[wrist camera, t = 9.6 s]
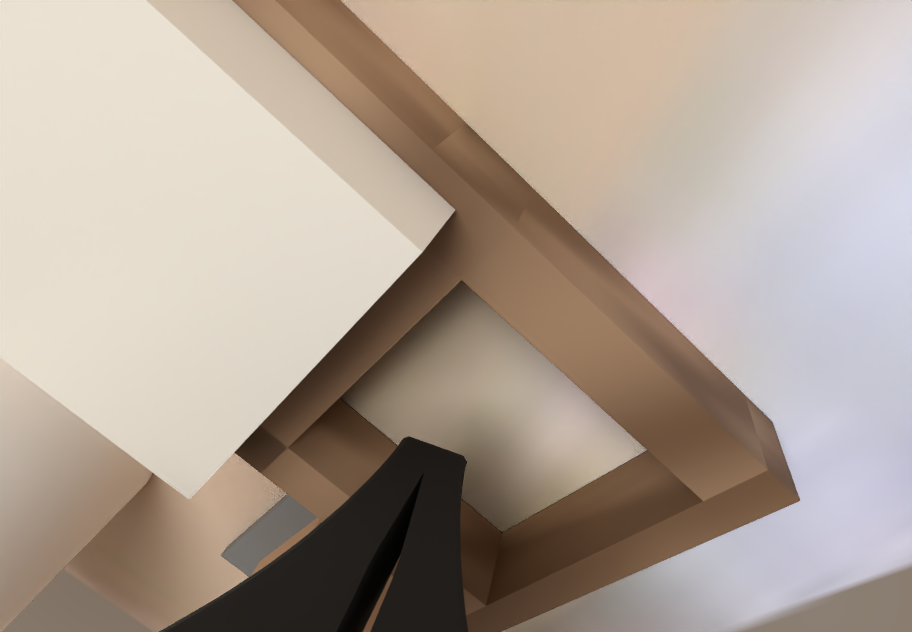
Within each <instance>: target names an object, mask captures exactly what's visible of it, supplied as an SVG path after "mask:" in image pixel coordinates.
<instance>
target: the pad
mask: <svg viewBox="0 0 912 632" xmlns="http://www.w3.org/2000/svg"><path fill="white" fill-rule="evenodd" d="M316 518H317V517H316V516H315V515H314V514H313V513H311V512H310V511H309V510H307V509H306V508H305V507H304V506H302V505H301V504H300V503H299V502H297V501H296V500H295V499H293V498H292V497H291V496H290V495H288V494H287V495H286V496H285V497H283V498H282V499H281V500H280V501H279V502H278V503H277V504H275V505H274V506H273V507H272V508H271V509H270V510H269V511H267V512H266V513H265V514H264V515H263V516H262V517H261V518H259V519H258V520H257V521H256V522H255V523H254V524H253V525H252V526H250V527H249V528H248V529H247V530H246V531H245V532H244V533H242V534H241V535H240V536H239V537H238V538H237V539H236V540H234V541H233V542H232V543H231V544H230V545H229V546H228V547H227V548H226V549H225V550H224V552H223V553H222V555H221V556H222V557H223V558H225V559H226V560H227V561H229V562H230V563H231V564H233V565H234V566H235V567H237V568H238V569H239V570H241V571H242V572H243V573H245V574H246V575H247V576H249V577H250V576H251V574H252V573H253V571H254V570H255V568H256V567H257V565H258V564H259V562H260V561H261V560H262V559H263V558H265V557H266V556H267V555H269V554H270V553H271V552H273V551H274V550H275V549H277V548H278V547H279V546H281V545H282V544H283V543H284V542H286V541H287V540H288V539H290V538H291V537H292V536H294V535H295V534H296V533H298V532H299V531H300V530H302V529H303V528H304V527H306V526H307V525H308V524H309V523H311V522H312V521H313V520H315V519H316Z"/></svg>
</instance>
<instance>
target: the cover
mask: <svg viewBox="0 0 912 632" xmlns="http://www.w3.org/2000/svg"><path fill="white" fill-rule="evenodd" d="M454 211H455V209H454V208H453V207H452V206H451V205H450V204H449V203H448V202H447V201H445V200H444V199H443V198H442V197H441V196H440V195H439V194H438V193H437V192H436V191H435V190H434V189H433V188H432V187H431V186H429V185H428V184H427V183H426V182H425V181H424V180H423V179H422V178H421V177H420V176H419V175H418V174H417V173H416V172H415V171H413V170H412V169H411V168H410V167H409V166H408V165H407V164H406V163H405V162H404V161H403V160H402V159H401V158H400V157H399V156H398V155H396V154H395V153H394V152H393V151H392V150H391V149H390V148H389V147H388V146H387V145H386V144H385V143H384V142H383V141H382V140H380V139H379V138H378V137H377V136H376V135H375V134H374V133H373V132H372V131H371V130H370V129H369V128H368V127H367V126H366V125H364V124H363V123H362V122H361V121H360V120H359V119H358V118H357V117H356V116H355V115H354V114H353V113H352V112H351V111H350V110H349V109H347V108H346V107H345V106H344V105H343V104H342V103H341V102H340V101H339V100H338V99H337V98H336V97H335V96H334V95H333V94H331V93H330V92H329V91H328V90H327V89H326V88H325V87H324V86H323V85H322V84H321V83H320V82H319V81H318V80H317V79H315V78H314V77H313V76H312V75H311V74H310V73H309V72H308V71H307V70H306V69H305V68H304V67H303V66H302V65H301V64H300V63H298V62H297V61H296V60H295V59H294V58H293V57H292V56H291V55H290V54H289V53H288V52H287V51H286V50H285V49H284V48H282V47H281V46H280V45H279V44H278V43H277V42H276V41H275V40H274V39H273V38H272V37H271V36H270V35H269V34H268V33H266V32H265V31H264V30H263V29H262V28H261V27H260V26H259V25H258V24H257V23H256V22H255V21H254V20H253V19H252V18H251V17H249V16H248V15H247V14H246V13H245V12H244V11H243V10H242V9H241V8H240V7H239V6H238V5H237V4H236V3H235V2H233V1H232V0H0V358H1V359H3V360H4V361H5V362H7V363H8V364H9V365H11V366H12V367H13V368H15V369H16V370H17V371H19V372H20V373H21V374H23V375H24V376H25V377H27V378H28V379H29V380H31V381H32V382H33V383H35V384H36V385H37V386H39V387H40V388H41V389H43V390H44V391H45V392H46V393H48V394H49V395H50V396H52V397H53V398H54V399H56V400H57V401H58V402H60V403H61V404H62V405H64V406H65V407H66V408H68V409H69V410H70V411H72V412H73V413H74V414H76V415H77V416H78V417H80V418H81V419H82V420H84V421H85V422H86V423H88V424H89V425H90V426H92V427H93V428H94V429H96V430H97V431H98V432H100V433H101V434H102V435H104V436H105V437H106V438H108V439H109V440H110V441H112V442H113V443H114V444H116V445H117V446H118V447H119V448H121V449H122V450H123V451H125V452H126V453H127V454H129V455H130V456H131V457H133V458H134V459H135V460H137V461H138V462H139V463H141V464H142V465H143V466H145V467H146V468H147V469H149V470H150V471H151V472H153V473H154V474H155V475H157V476H158V477H159V478H161V479H162V480H163V481H165V482H166V483H167V484H169V485H170V486H171V487H173V488H174V489H175V490H177V491H178V492H179V493H181V494H182V495H183V496H185V497H186V498H187V499H189V500H190V499H191V498H192V497H193V496H194V495H195V493H196V492H197V491H198V490H199V489H200V488H201V487H202V486H203V485H204V484H205V483H206V482H207V481H208V480H209V479H210V478H211V476H212V475H213V474H214V473H215V472H216V471H217V470H218V469H219V468H220V467H221V466H222V465H223V464H224V463H225V462H226V460H227V459H228V458H229V457H230V456H231V455H232V454H233V453H234V452H235V451H236V450H237V449H238V448H239V447H240V446H241V445H242V443H243V442H244V441H245V440H246V439H247V438H248V437H249V436H250V435H251V434H252V433H253V432H254V431H255V430H256V429H257V428H258V426H259V425H260V424H261V423H262V422H263V421H264V420H265V419H266V418H267V417H268V416H269V415H270V414H271V413H272V412H273V411H274V409H275V408H276V407H277V406H278V405H279V404H280V403H281V402H282V401H283V400H284V399H285V398H286V397H287V396H288V395H289V394H290V392H291V391H292V390H293V389H294V388H295V387H296V386H297V385H298V384H299V383H300V382H301V381H302V380H303V379H304V378H305V377H306V375H307V374H308V373H309V372H310V371H311V370H312V369H313V368H314V367H315V366H316V365H317V364H318V363H319V362H320V361H321V359H322V358H323V357H324V356H325V355H326V354H327V353H328V352H329V351H330V350H331V349H332V348H333V347H334V346H335V345H336V344H337V342H338V341H339V340H340V339H341V338H342V337H343V336H344V335H345V334H346V333H347V332H348V331H349V330H350V329H351V328H352V327H353V325H354V324H355V323H356V322H357V321H358V320H359V319H360V318H361V317H362V316H363V315H364V314H365V313H366V312H367V311H368V310H369V308H370V307H371V306H372V305H373V304H374V303H375V302H376V301H377V300H378V299H379V298H380V297H381V296H382V295H383V294H384V293H385V291H386V290H387V289H388V288H389V287H390V286H391V285H392V284H393V283H394V282H395V281H396V280H397V279H398V278H399V277H400V275H401V274H402V273H403V272H404V271H405V270H406V269H407V268H408V267H409V266H410V265H411V264H412V263H413V262H414V261H415V260H416V258H417V257H418V256H419V255H420V254H421V253H422V252H423V251H424V250H425V248H426V247H427V246H428V244H429V243H430V242H431V241H432V239H433V238H434V237H435V235H436V234H437V233H438V232H439V230H440V229H441V228H442V227H443V225H444V224H445V223H446V221H447V220H448V219H449V218H450V216H451V215H452V214H453V213H454Z"/></svg>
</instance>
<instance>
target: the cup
mask: <svg viewBox="0 0 912 632" xmlns="http://www.w3.org/2000/svg"><path fill="white" fill-rule="evenodd" d="M152 473H153V472H151V471H150V470H149V469H147V468H146V467H145V466H143V465H142V464H141V463H139V462H138V461H137V460H135V459H134V458H133V457H131V456H130V455H129V454H127V453H126V452H125V451H123V450H122V449H121V448H119V447H118V446H117V445H116V444H114V443H113V442H112V441H110V440H109V439H108V438H106V437H105V436H104V435H102V434H101V433H100V432H98V431H97V430H96V429H94V428H93V427H92V426H90V425H89V424H88V423H86V422H85V421H84V420H82V419H81V418H80V417H78V416H77V415H76V414H74V413H73V412H72V411H70V410H69V409H68V408H66V407H65V406H64V405H62V404H61V403H60V402H58V401H57V400H56V399H54V398H53V397H52V396H50V395H49V394H48V393H46V392H45V391H44V390H43V389H41V388H40V387H39V386H37V385H36V384H35V383H33V382H32V381H31V380H29V379H28V378H27V377H25V376H24V375H23V374H21V373H20V372H19V371H17V370H16V369H15V368H13V367H12V366H11V365H9V364H8V363H7V362H5V361H4V360H3V359H1V358H0V632H2V630H3V629H4V628H5V627H6V626H7V625H8V624H9V623H10V622H11V621H12V620H13V619H14V618H15V617H16V616H17V615H18V614H19V613H20V612H21V611H22V610H23V609H24V608H25V607H26V606H27V605H28V604H29V603H30V602H31V601H32V600H33V599H34V598H35V597H36V596H37V595H38V594H39V593H40V592H41V591H42V590H43V589H44V588H45V587H46V586H47V585H48V584H49V583H50V582H51V580H52V579H53V578H54V577H55V576H56V575H57V574H58V573H59V572H60V571H61V570H62V569H63V568H64V567H65V566H66V565H67V564H68V563H69V562H70V561H71V560H72V559H73V558H74V557H75V556H76V555H77V554H78V553H79V552H80V551H81V550H82V549H83V548H84V547H85V546H86V545H87V544H88V543H89V542H90V541H91V540H92V539H93V538H94V537H95V536H96V535H97V534H98V533H99V531H100V530H101V529H102V528H103V527H104V526H105V525H106V524H107V523H108V522H109V521H110V520H111V519H112V518H113V517H114V516H115V515H116V514H117V513H118V512H119V511H120V510H121V509H122V508H123V507H124V506H125V505H126V504H127V503H128V502H129V501H130V500H131V499H132V498H133V497H134V496H135V495H136V494H137V493H138V492H139V491H140V490H141V489H142V488H143V487H144V485H145V484H146V483H147V482H148V480H149V479H150V477H151V475H152Z"/></svg>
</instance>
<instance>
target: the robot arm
mask: <svg viewBox="0 0 912 632" xmlns="http://www.w3.org/2000/svg"><path fill="white" fill-rule="evenodd" d="M466 464H467V461H466V459H465V458H464V456H462V455H459V454H457V453H454V452H451V451H448V450H445V449H443V448H440V447H437V446H434V445H432V444H429V443H426V442H423V441H420V440H418V439H415V438H412V437H406V438H403V440H402V441H401V442H400V444H399V445H398V447H397V448H396V449H395V450H394V452H393V453H392V454H391V455H390V456H389V458H388V459H387V460H386V461H385V462H384V463H383V464H382V465H381V467H380V468H379V469H378V470H377V471H376V472H375V473H374V474H373V475H372V476H371V477H370V478H369V479H368V480H367V481H366V482H365V483H364V484H363V485H362V486H361V487H360V488H359V489H358V490H357V491H356V492H355V493H354V494H353V495H352V496H351V497H350V498H349V499H348V500H347V501H346V502H345V503H343V504H342V505H341V506H340V507H339V508H338V509H337V510H336V511H334V512H333V513H332V514H331V515H330V516H329V517H327V518H326V519H325V520H324V521H323V522H322V523H320V524H319V525H318V526H317V527H316V528H315V529H313V530H312V531H311V532H310V533H309V534H307V535H306V536H305V537H304V538H302V539H301V540H300V541H299V542H297V543H296V544H295V545H293V546H292V547H291V548H290V549H288V550H287V551H286V552H284V553H283V554H281V555H280V556H279V557H277V558H276V559H275V560H273V561H272V562H271V563H269V564H268V565H266V566H265V567H263V568H262V569H261V570H259V571H258V572H256V573H255V574H253V575H252V576H250V577H249V578H247V579H246V580H244V581H243V582H241V583H240V584H238V585H237V586H235V587H234V588H232V589H231V590H229V591H228V592H226V593H224V594H223V595H221V596H220V597H218V598H216V599H215V600H213V601H211V602H210V603H208V604H206V605H205V606H203V607H201V608H199V609H198V610H196V611H194V612H193V613H191V614H189V615H187V616H186V617H184V618H182V619H180V620H179V621H177V622H175V623H174V624H172V625H170V626H168V627H167V628H165V629H163V630H161V631H159V632H363V630H364V628H365V626H366V624H367V622H368V620H369V618H370V616H371V614H372V612H373V610H374V608H375V606H376V604H377V602H378V600H379V598H380V596H381V594H382V592H383V590H384V588H385V586H386V584H387V582H388V580H389V577H390V575H391V573H392V571H393V569H394V567H395V565H396V563H397V561H398V559H399V561H398V564H397V567H396V570H395V573H394V576H393V578H392V580H391V583H390V585H389V588H388V590H387V593H386V595H385V597H384V600H383V602H382V605H381V607H380V610H379V612H378V614H377V617H376V619H375V622H374V624H373V626H372V629H371V631H370V632H468V627H467V619H466V611H465V602H464V592H463V580H462V566H461V537H460V512H461V495H462V485H463V478H464V472H465V467H466ZM399 557H400V558H399Z"/></svg>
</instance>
